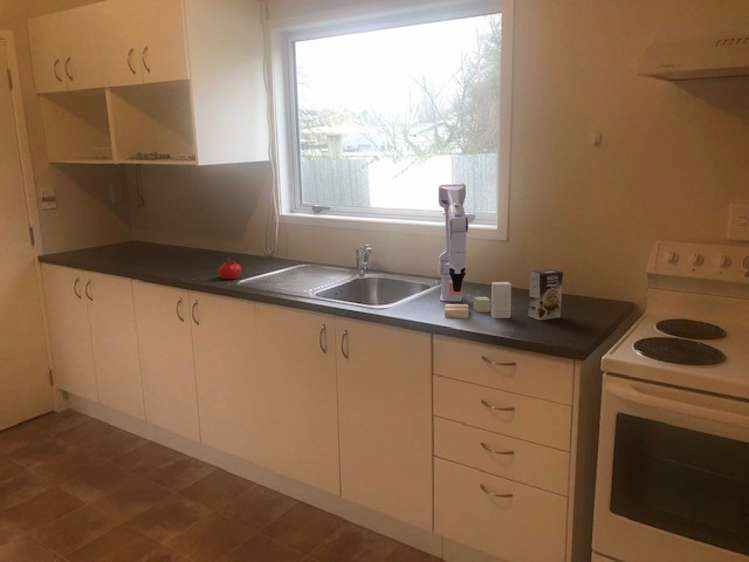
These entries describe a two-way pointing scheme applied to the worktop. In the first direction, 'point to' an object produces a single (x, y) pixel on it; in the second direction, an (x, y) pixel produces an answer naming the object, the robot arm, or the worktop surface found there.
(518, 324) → the worktop surface
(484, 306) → the sage cube
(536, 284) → the coffee box
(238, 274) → the pomegranate
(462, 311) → the maple slab
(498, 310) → the skincare box
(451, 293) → the terracotta cube
